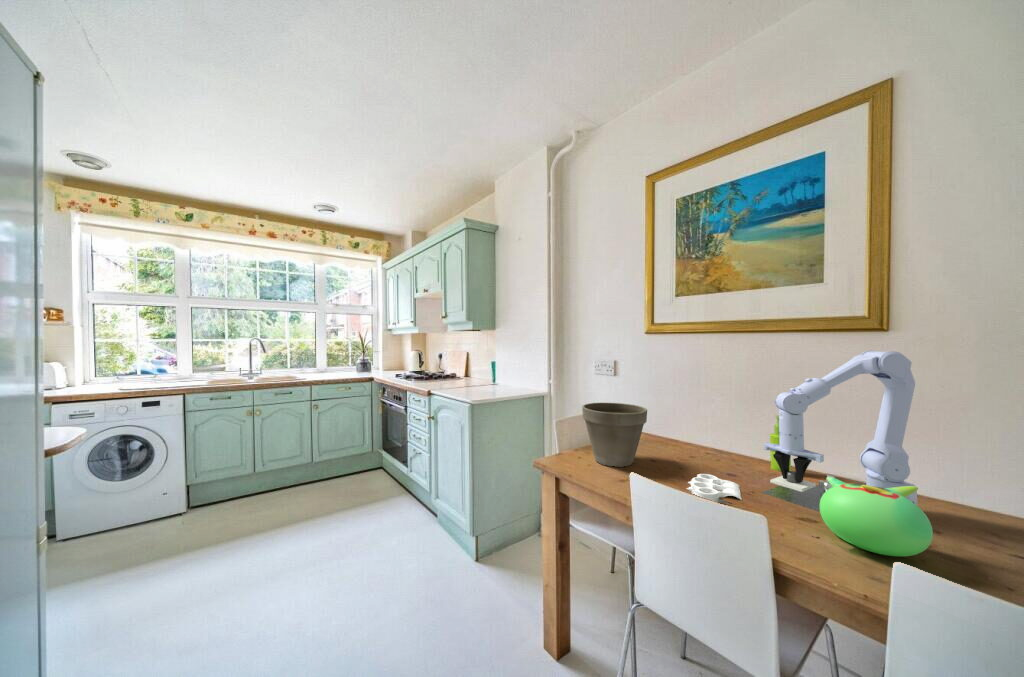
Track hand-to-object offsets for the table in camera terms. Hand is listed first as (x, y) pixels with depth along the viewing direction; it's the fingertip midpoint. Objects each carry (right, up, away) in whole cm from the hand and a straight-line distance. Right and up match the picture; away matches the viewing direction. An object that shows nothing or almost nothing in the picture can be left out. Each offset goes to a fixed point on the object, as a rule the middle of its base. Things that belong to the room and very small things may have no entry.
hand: (792, 480), depth 106 cm
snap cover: (0, -1, 0) cm, 1 cm away
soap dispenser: (+15, -7, +25) cm, 30 cm away
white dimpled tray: (-20, -7, +6) cm, 22 cm away
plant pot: (-42, -8, +38) cm, 57 cm away
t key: (+15, -5, +5) cm, 17 cm away
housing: (+5, -6, +2) cm, 8 cm away
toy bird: (-1, -6, -24) cm, 25 cm away
